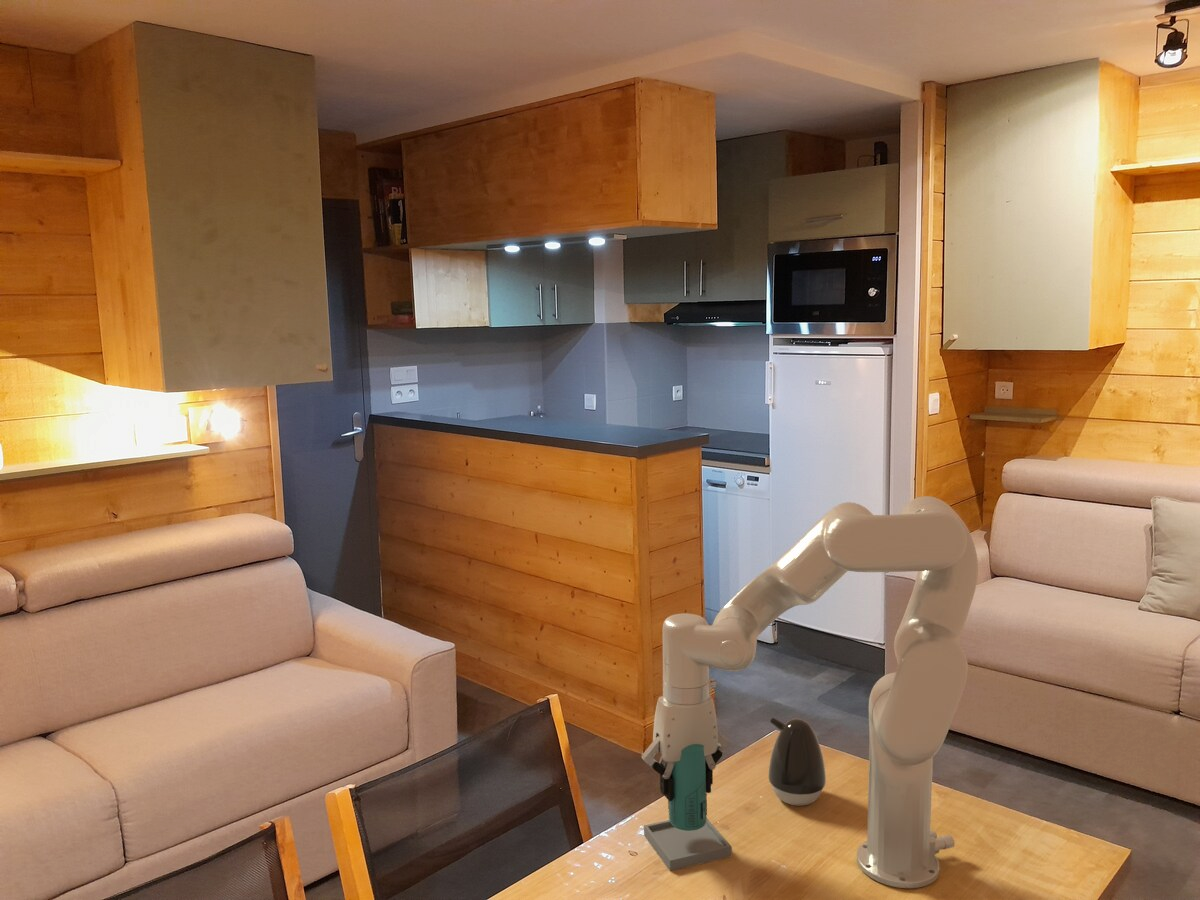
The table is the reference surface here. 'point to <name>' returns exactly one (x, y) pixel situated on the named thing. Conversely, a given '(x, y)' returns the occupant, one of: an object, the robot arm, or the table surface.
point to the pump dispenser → (796, 763)
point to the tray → (686, 844)
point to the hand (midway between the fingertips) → (686, 792)
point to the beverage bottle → (689, 790)
